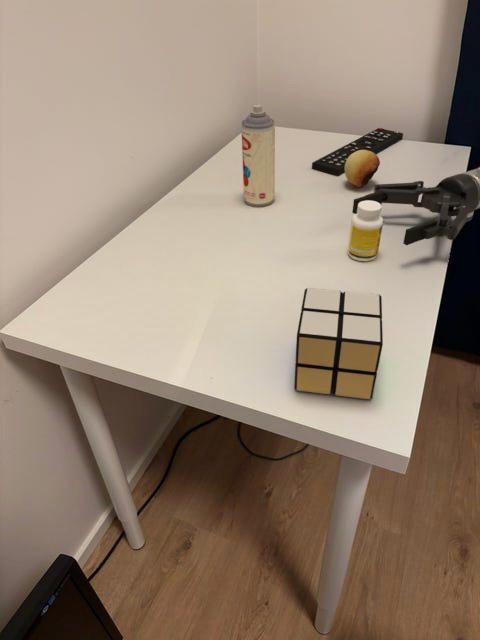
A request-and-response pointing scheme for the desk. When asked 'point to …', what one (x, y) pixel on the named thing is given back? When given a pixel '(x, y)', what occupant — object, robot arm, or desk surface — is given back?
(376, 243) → the supplement bottle
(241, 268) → the desk surface
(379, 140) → the remote control
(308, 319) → the puzzle cube
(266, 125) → the aerosol can
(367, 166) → the fruit
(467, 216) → the robot arm
